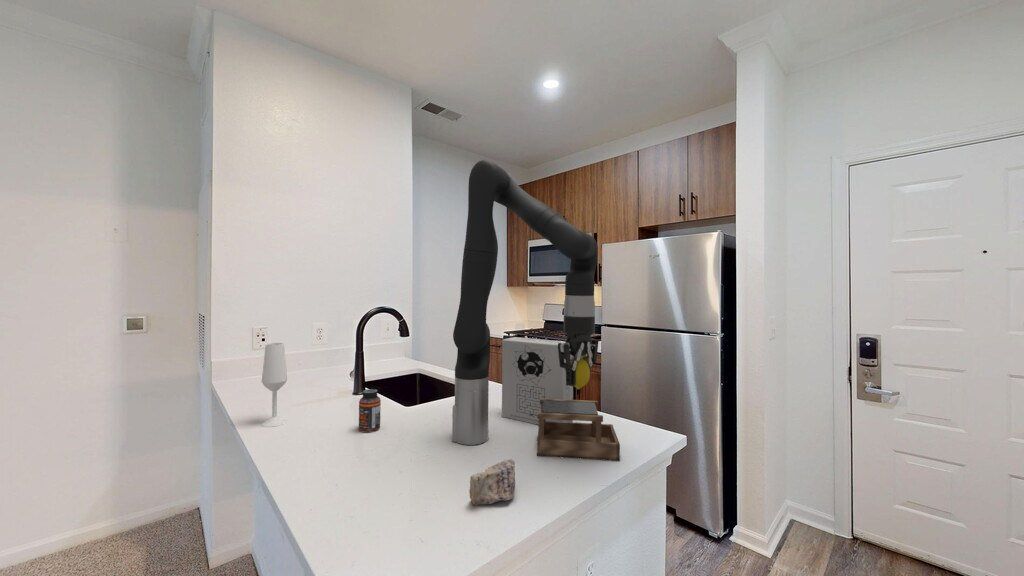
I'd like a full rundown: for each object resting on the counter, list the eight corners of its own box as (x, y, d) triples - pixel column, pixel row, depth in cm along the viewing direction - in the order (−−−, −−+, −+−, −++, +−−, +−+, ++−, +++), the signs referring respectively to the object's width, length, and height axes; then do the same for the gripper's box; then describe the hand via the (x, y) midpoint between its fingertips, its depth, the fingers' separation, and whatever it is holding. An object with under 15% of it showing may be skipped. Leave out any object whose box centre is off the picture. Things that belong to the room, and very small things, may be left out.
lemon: (594, 389, 96) (594, 357, 96) (579, 393, 92) (580, 359, 92) (576, 385, 100) (577, 353, 100) (562, 388, 97) (562, 356, 97)
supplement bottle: (354, 431, 114) (354, 392, 114) (368, 424, 119) (369, 387, 119) (370, 434, 111) (370, 394, 111) (384, 427, 117) (385, 389, 117)
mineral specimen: (493, 518, 72) (493, 484, 72) (463, 506, 76) (463, 473, 75) (529, 488, 82) (529, 459, 82) (501, 479, 86) (501, 450, 86)
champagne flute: (288, 424, 119) (288, 344, 119) (261, 428, 115) (262, 346, 115) (286, 417, 125) (286, 341, 125) (260, 421, 121) (261, 343, 121)
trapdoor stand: (536, 456, 98) (537, 414, 98) (539, 435, 112) (540, 398, 112) (619, 461, 95) (620, 418, 95) (612, 438, 109) (612, 401, 109)
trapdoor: (541, 419, 99) (541, 412, 99) (543, 406, 110) (543, 400, 110) (598, 421, 98) (598, 414, 98) (594, 408, 108) (594, 402, 108)
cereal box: (573, 423, 122) (573, 342, 122) (562, 430, 115) (563, 345, 115) (513, 410, 133) (514, 336, 133) (501, 417, 127) (501, 339, 127)
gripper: (574, 316, 89) (573, 391, 89) (608, 313, 99) (607, 381, 99) (548, 314, 94) (547, 385, 94) (583, 312, 104) (582, 376, 104)
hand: (578, 383), depth 96 cm, fingers closed on lemon, 5 cm apart
